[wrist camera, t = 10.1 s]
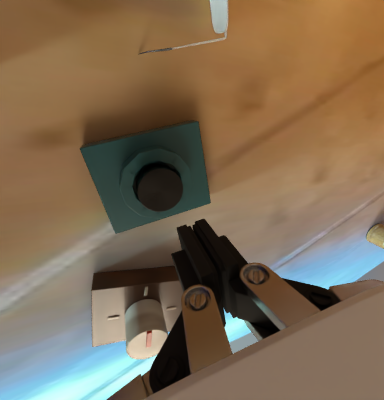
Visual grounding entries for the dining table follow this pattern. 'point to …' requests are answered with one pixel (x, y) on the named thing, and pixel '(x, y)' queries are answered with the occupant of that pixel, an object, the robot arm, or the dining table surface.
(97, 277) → the dial panel
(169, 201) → the black button
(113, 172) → the button housing
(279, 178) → the dining table surface
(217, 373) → the robot arm
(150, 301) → the dial
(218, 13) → the eyeglasses
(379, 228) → the sprinkles bottle
